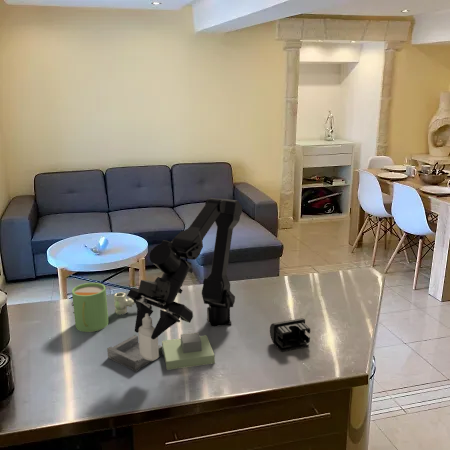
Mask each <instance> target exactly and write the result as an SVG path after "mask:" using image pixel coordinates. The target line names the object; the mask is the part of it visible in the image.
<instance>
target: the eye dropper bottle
mask: <svg viewBox="0 0 450 450" xmlns="http://www.w3.org/2000/svg"><path fill="white" fill-rule="evenodd" d="M142 324H143V325H142V326H140V327H139V329H138V343H139V349H140V355H141V356H142V357H143V358H144V359H146V360H150V361H151V362H153V361H155V360H157V359H159V357H160V356H159V351H158V346H159V339H158V337H159V336H158V337H157V338H156V339H154V340H153V339H152V338H151V336H152V333H153V331H154V329H155V327H154V326H153V317H151V316H150V317H149V315H148V313H146V314H145V317H144V318H143V319H142Z"/></svg>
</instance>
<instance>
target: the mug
mask: <svg viewBox="0 0 450 450" xmlns="http://www.w3.org/2000/svg"><path fill="white" fill-rule="evenodd" d="M71 295H72V302H71V307H73V314H74V324H75V329H76V330H78V331H79V332H82V333H92V332H96V331H101V330H102V329H105V328H107V326H108V325H109V314H108V313H109V312H108V310H109V309H108V302H107V301H108V300H107V289H106V286H105V284H103V283H100V282H86V283H81V284H79V285H76V286H75V287H73V288H72V290H71Z"/></svg>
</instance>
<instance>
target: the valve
mask: <svg viewBox="0 0 450 450" xmlns="http://www.w3.org/2000/svg"><path fill="white" fill-rule="evenodd" d="M113 300H114V301H113V305H114V312H115V314H116V315H119V316H122V315H125V314H126V313H127V312H128V308H132V307H133V305H136V303H134V300H132V299H131V298H129V297H128V298H127V294H126V293H125V292H121V291H119V292H116V293H114V295H113ZM150 309H151V310H153V305H150ZM121 314H122V315H121Z"/></svg>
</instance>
